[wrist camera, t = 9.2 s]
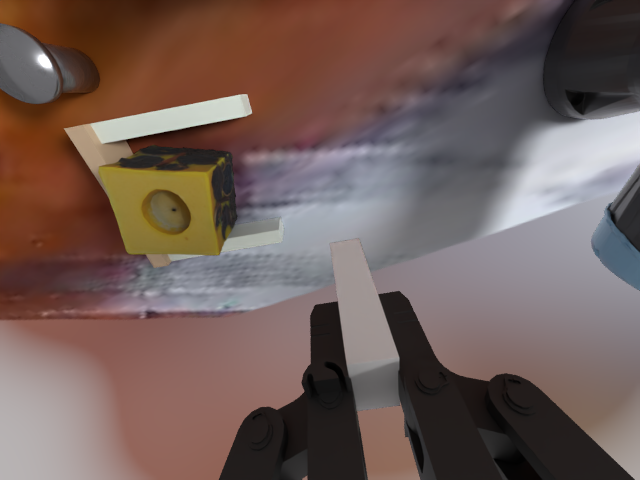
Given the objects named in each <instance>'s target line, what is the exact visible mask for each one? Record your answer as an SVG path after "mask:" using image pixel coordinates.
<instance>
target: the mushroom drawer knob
mask: <svg viewBox="0 0 640 480" xmlns="http://www.w3.org/2000/svg"><path fill="white" fill-rule="evenodd" d="M99 82H100V78H99V73H98V70H97V68H96V66H95V64H94V63H93V62H92V60H91V59H90V58H89V57H88V56H87V55H86V54H84V53H83V52H81V51H79V50H77V49H74V48H69V47H64V46H58V45H52V44H47V43H41V42H40V41H39V40H38V39H37V38H35V37H34V36H33V35H31V34H30V33H28V32H26V31H24V30H22V29H20V28H17V27H14V26H10V25H6V24H1V23H0V88H1V89H2V90H3V91H5V92H6V93H7V94H9V95H11V96H12V97H14V98H16V99H18V100H21V101H23V102H27V103H32V104H42V103H50V102H53V101H55V100H57V99H58V98H59V97H60V95H61V93H88V92H93V91H95V90H96V89H97V88H98V86H99Z"/></svg>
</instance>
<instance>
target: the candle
mask: <svg viewBox="0 0 640 480" xmlns="http://www.w3.org/2000/svg"><path fill="white" fill-rule="evenodd" d="M232 158H233V157H232V155H231V153H230V152H225V151H215V150H204V149H192V148H184V147H183V148H171V147H159V146H156V145H152V146H149V147H147V148H143V149H140V150H139V151H138V152H136V153H135V154H133V155H131V156H129V157H127V158H121V159H120V160H119V161H118V162H116V163H113V164H106V165H102V166H99V170H98V173H99V176H100V178H101V180H102V182H103V184H104V186H105V188H106V190H107V193H108V195H109V199H110V203H111V206H112V208H113V211H114V214H115V216H116V219H117V222H118V226H119V229H120V233H121V236H122V239H123V242H124V245H125V249H126V251H127V253H128V254H184V255H219V254H220V252H221V250H222V247H223V246H224V242H225V241H226V240H227V237H228V236H229V234H230V233H231V231H232V229H233V228H234V225H235V221H236V220H237V214H236V204H235V197H236V195H235V188H234V178H233V176H234V173H233V170H232Z"/></svg>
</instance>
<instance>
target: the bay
mask: <svg viewBox="0 0 640 480" xmlns="http://www.w3.org/2000/svg"><path fill="white" fill-rule="evenodd" d="M250 114H252V110H251V107H250V103H249V99H248V96H247V94H243V95H236V96H231V97H226V98H221V99H215V100H210V101H205V102H200V103H195V104H190V105H185V106H179V107H174V108H169V109H164V110H159V111H154V112H149V113H143V114H138V115H133V116H128V117H123V118H118V119H113V120H107V121H102V122H97V123H92V124H86V125H81V126H76V127H70V128H65V129H64V130H65V131H66V133H67V134H68V136H69V137H70V139H71V140H72V142H73V143H74V145H75V146H76V148H77V150H78V151H79V153H80V154H81V156H82V157H83V159H84V160H85V162H86V163H87V165H88V166H89V168H90V170H91V171H92V173H93V174H94V176H95V177H96V179H97V180H98V182H99V183H100V185H101V187H102V188H103V190H104V191H105V193H106V194H107V196H108V197H109V195H108V193H107V190H106V188H105V186H104V184H103V182H102V180H101V178H100V176H99V173H98V170H99V166H102V165H106V164H113V163H116V162H118V161H119V160H120V159H121V158H127V157H129V156H131V155H133V153H132V151H131V149H130V147H129V145H128V143H127V141H126V140H125V139H130V138H135V137H140V136H145V135H151V134H156V133H161V132H166V131H172V130H177V129H182V128H187V127H193V126H198V125H203V124H208V123H214V122H219V121H224V120H229V119H234V118H240V117H245V116H247V115H250ZM283 232H284V227H283V223H282V219H281V217H277V218H272V219H266V220H260V221H254V222H249V223H243V224H237V225H234V228H233V229H232V231H231V233H230V234H229V236H228V237H227V240H226V241H225V242H224V246H223V247H222V250H221V252H220V253H222V252H228V251H234V250H240V249H245V248H251V247H257V246H263V245H269V244H275V243H280V242H282V239H283ZM146 256H147V257H148V259H149V260H150V262H151V264H152V265H153V267H154V268H156V267H162V266H168V265H169V264H170V262H171V261H175V260H181V259H187V258H193V257H199V256H205V255H184V254H146Z"/></svg>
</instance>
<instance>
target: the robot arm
mask: <svg viewBox="0 0 640 480" xmlns="http://www.w3.org/2000/svg"><path fill="white" fill-rule="evenodd" d="M544 89H545V94H546V97H547V99H548V101H549V103H550V105H551V106H552V107H553V108H554V109H555V110H556V111H557V112H559V113H560V114H562V115H564V116H567V117H572V118H581V119H604V118H610V117H614V116H619V115H624V114H629V113H634V112H638V111H640V0H575V1H574V3H573V4H572V5H571V7H570V8H569V10H568V11H567V13H566V14H565V16H564V18H563V19H562V21H561V23H560V24H559V26H558V28H557V30H556V32H555V35H554V37H553V39H552V42H551V44H550V47H549V50H548V53H547V57H546V61H545V67H544ZM604 212H605V215H604V217H603V218H602V220H601V222H600V223H599V225H598V227H597V228H596V230H595V232H594V233H593V235H592V239H591V244H592V249H593V251H594V252H595V255H596V256H597V257H598V258H599V259H600V261H601V262H602V264H603V265H604V266H605V267H607V268H608V269H609V270H610V271H611V272H612V273H614V274H615V275H616V276H618V277H619V278H620V279H622V280H623V281H625V282H626V283H628V284H629V285H631V286H633V287H634V288H636V289H637V290H639V291H640V164H639V165H638V167H637V168H636V170H635V171H634V173H633V174H632V175H631V177H630V178H629V180H628V181H627V183H626V184H625V186H624V187H623V188H622V190H621V191H620V193H619V194H618V196H617V197H616V198H615V200H614V201H613V202H612V203H609V204H608V206H607V207H606V208H605V211H604ZM330 249H331V256H332V263H333V270H334V277H335V285H336V292H337V299H338V301H337V302H331V303H324V304H318V305H315V306H314V309H313V311H312V313H311V315H310V324H311V325H310V326H311V364H310V365H309V366H308V368H307V369H306V371H305V372H304V374H303V379H302V386H303V388H304V391H305V392H304V393H303V394H302V395H301V396H300V397H299V398H298V399H296V400H295V401H294V402H291V403H290V404H288V405H286V406H284V407H282V408H280V409H278V410H276V409H273V408H271V407H260V408H258V409H257V410H254V411H253V412H251V413H250V414H249V415H248V416H247V417H246V418H245V419H244V421H243V423H242V425H241V426H240V428H239V430H238V432H237V435H236V437H235V440H234V443H233V445H232V447H231V450H230V453H229V455H228V458H227V460H226V463H225V465H224V468H223V470H222V473H221V475H220V478H219V480H302V478H304V477H305V476H307V475H308V480H368V477H367V471H366V465H365V458H364V452H363V445H362V439H361V432H360V427H359V421H358V415H357V411H362V410H369V409H377V408H384V407H391V406H400V402H401V405H402V409H403V412H404V417H405V418H404V420H405V421H404V422H405V424H404V429H405V437H409V441H410V444H411V448H412V451H413V455H414V459H415V462H416V465H417V469H418V472H419V476H420V480H635V479H634V478H633V477H631V476H630V475H629V474H628V473H627V472H626V471H625V470H624V469H623V468H622V467H621V466H620V465H619V464H618V463H617V462H616V461H615V460H614V459H613V458H611V456H609V455H608V454H607V453H606V452H605V451H604V450H603V449H602V448H601V447H600V446H599V445H598V444H597V443H596V442H595V441H594V440H593V439H592V438H591V437H589V436H588V435H587V434H586V433H585V432H584V431H583V430H582V429H581V428H580V427H579V426H578V425H577V424H576V423H575V422H574V421H573V420H572V419H571V418H570V417H569V416H568V415H566V414H565V413H564V412H563V411H562V410H561V409H560V408H559V407H558V406H557V405H556V404H555V403H554V402H553V401H552V400H550V398H549V397H548V396H547V395H546V394H544V393H543V392H542V391H541V390H540V389H539V388H538V387H536V386H535V385H534V384H532V383H531V382H530V381H528V380H526V379H524V378H522V377H519V376H517V375H512V374H500V375H496V376H495V377H493V378H492V379H491V380H490V382H489V381H483V380H478V379H473V378H467V377H463V376H459V375H457V374H455V373H453V372H451V371H449V370H448V369H447V368H445V367H444V366H443V365H442V364H441V363H440V362H439V361H438V359H437V358H436V356H435V354H434V352H433V350H432V348H431V346H430V344H429V342H428V340H427V338H426V336H425V333H424V331H423V329H422V327H421V325H420V323H419V321H418V319H417V316H416V314H415V312H414V311H413V308H412V306H411V304H410V302H409V300H408V299H407V298H406V297H405V296H404V295H403V294H402V293H401V292H400V291H396V292H390V293H384V294H378V293H377V290H376V288H375V284H374V281H373V278H372V276H371V273H370V270H369V267H368V264H367V261H366V258H365V255H364V252H363V249H362V246H361V243H360V240H359V238H358V239H352V240H346V241H340V242H334V243H330Z"/></svg>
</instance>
